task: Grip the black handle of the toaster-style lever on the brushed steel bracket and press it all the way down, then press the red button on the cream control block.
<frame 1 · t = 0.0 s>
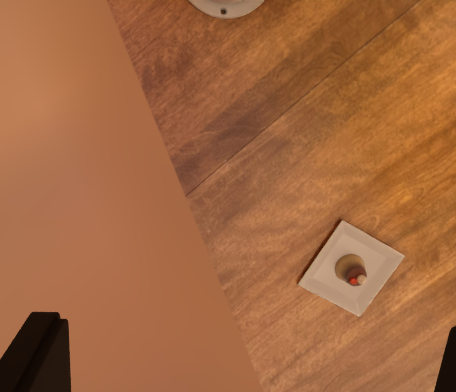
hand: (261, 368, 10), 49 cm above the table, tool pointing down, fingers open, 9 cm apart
dessert: (348, 266, 65), on the table
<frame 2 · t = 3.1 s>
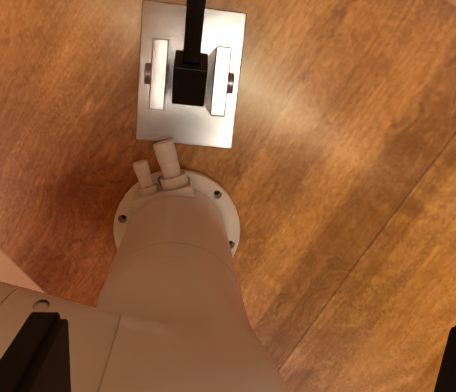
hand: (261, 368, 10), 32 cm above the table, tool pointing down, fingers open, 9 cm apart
bracket: (189, 78, 39), on the table
lever: (195, 9, 26), point 13 cm above the table, hinge at 30.0°
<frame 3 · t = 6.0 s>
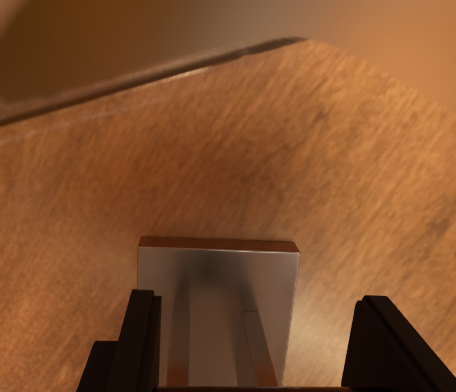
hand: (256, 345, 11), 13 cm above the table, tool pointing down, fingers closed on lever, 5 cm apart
bracket: (212, 327, 26), on the table
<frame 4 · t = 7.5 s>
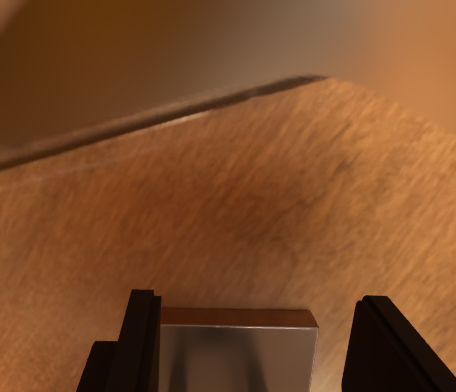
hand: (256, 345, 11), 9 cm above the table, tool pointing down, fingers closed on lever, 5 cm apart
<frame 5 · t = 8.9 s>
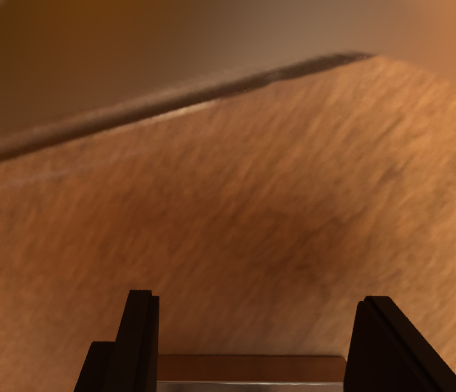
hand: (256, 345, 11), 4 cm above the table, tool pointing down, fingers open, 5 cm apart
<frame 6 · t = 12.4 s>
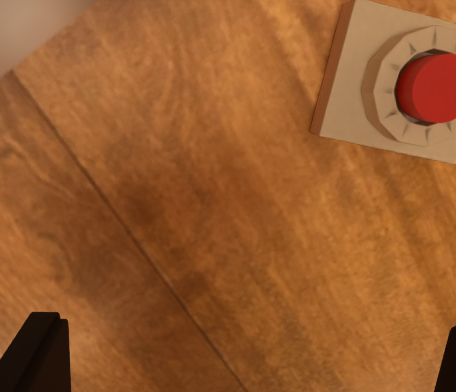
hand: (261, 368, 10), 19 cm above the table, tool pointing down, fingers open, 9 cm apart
button: (435, 88, 23), point 4 cm above the table, slide at 0.1 cm
button block: (397, 86, 28), on the table
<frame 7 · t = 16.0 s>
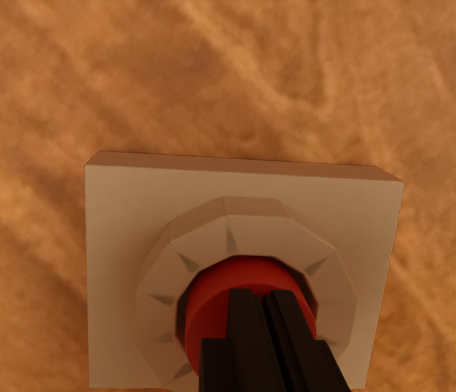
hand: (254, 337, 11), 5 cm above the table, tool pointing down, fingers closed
button: (247, 323, 12), point 4 cm above the table, slide at -0.3 cm, touching gripper
button block: (234, 261, 16), on the table
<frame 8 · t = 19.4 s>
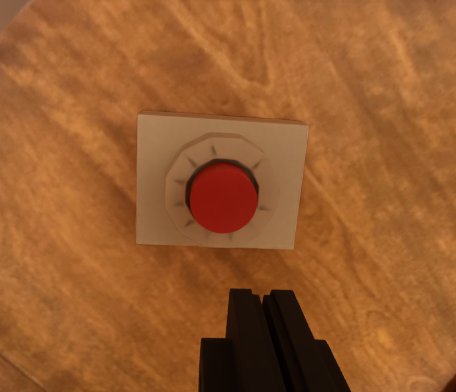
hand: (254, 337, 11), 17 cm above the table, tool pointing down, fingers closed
button: (222, 197, 23), point 4 cm above the table, slide at 0.1 cm
button block: (218, 177, 28), on the table
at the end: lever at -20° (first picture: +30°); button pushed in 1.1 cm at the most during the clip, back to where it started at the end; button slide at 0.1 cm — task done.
